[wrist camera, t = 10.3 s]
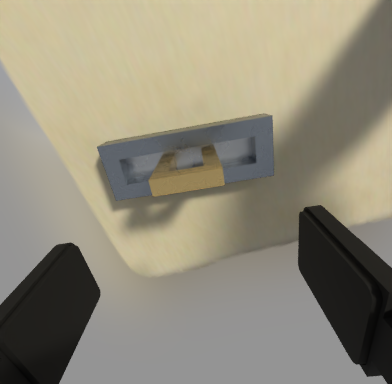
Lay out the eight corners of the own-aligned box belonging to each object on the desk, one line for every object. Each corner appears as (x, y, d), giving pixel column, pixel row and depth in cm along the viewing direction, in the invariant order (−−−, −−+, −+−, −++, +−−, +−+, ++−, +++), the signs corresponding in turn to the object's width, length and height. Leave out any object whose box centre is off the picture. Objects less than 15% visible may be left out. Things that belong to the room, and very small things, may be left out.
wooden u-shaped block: (213, 145, 27) (222, 168, 19) (215, 157, 28) (224, 185, 19) (162, 154, 27) (148, 180, 19) (165, 166, 28) (152, 196, 20)
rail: (264, 113, 26) (272, 115, 24) (266, 167, 29) (273, 175, 26) (106, 141, 27) (96, 146, 25) (123, 191, 30) (116, 200, 28)
